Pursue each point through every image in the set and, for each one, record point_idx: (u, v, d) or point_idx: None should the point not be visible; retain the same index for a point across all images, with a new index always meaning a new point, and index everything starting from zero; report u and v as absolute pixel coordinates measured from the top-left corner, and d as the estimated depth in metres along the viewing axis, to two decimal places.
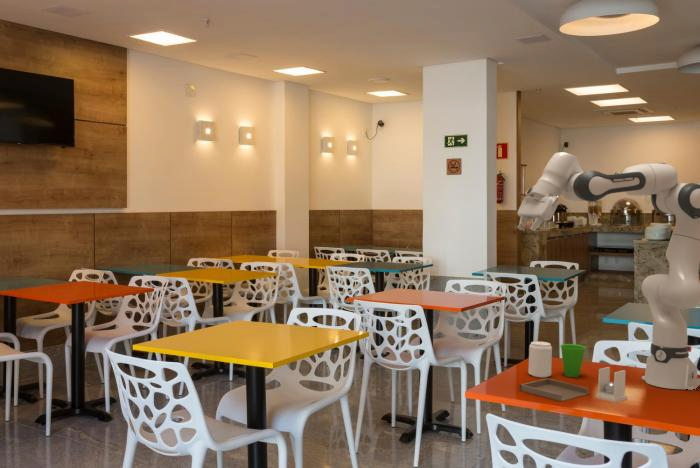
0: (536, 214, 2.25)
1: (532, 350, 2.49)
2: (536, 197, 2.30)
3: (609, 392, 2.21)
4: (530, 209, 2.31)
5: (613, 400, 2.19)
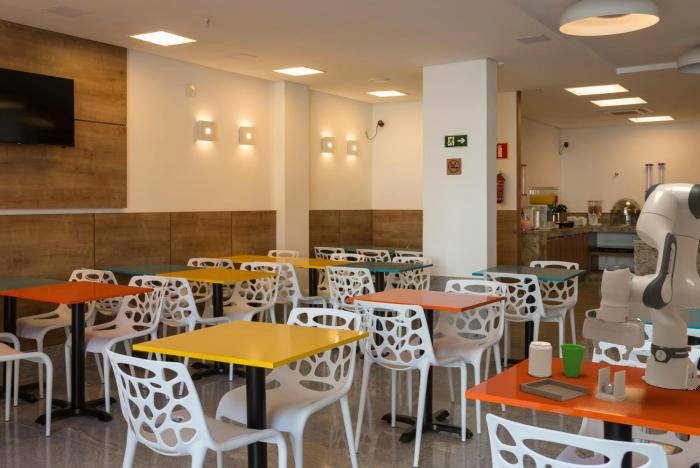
0: (626, 345, 2.17)
1: (532, 350, 2.49)
2: (612, 324, 2.19)
3: (609, 393, 2.21)
4: (608, 336, 2.21)
5: (613, 400, 2.19)
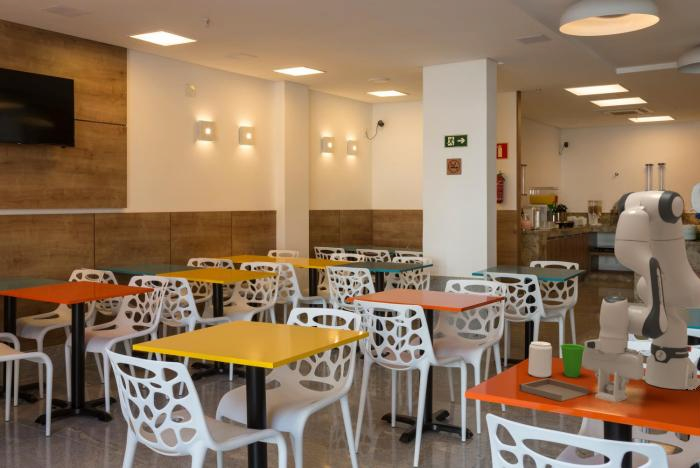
0: (625, 376, 2.17)
1: (532, 350, 2.49)
2: (611, 356, 2.20)
3: (610, 390, 2.22)
4: (607, 367, 2.22)
5: (613, 400, 2.19)
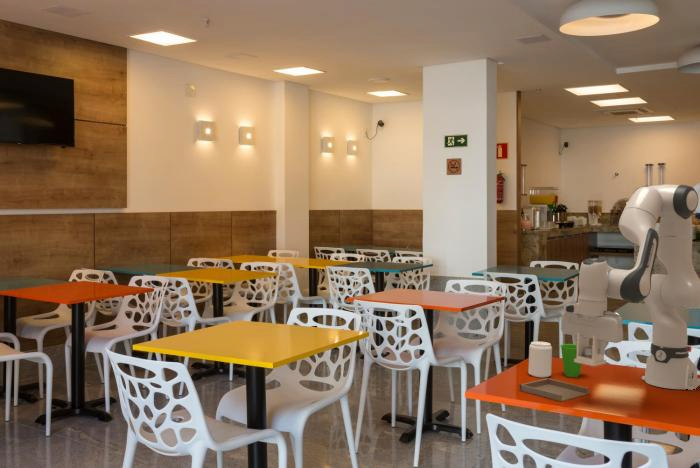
0: (604, 340, 2.12)
1: (532, 350, 2.49)
2: (590, 319, 2.15)
3: (588, 354, 2.17)
4: (586, 331, 2.17)
5: (592, 364, 2.13)
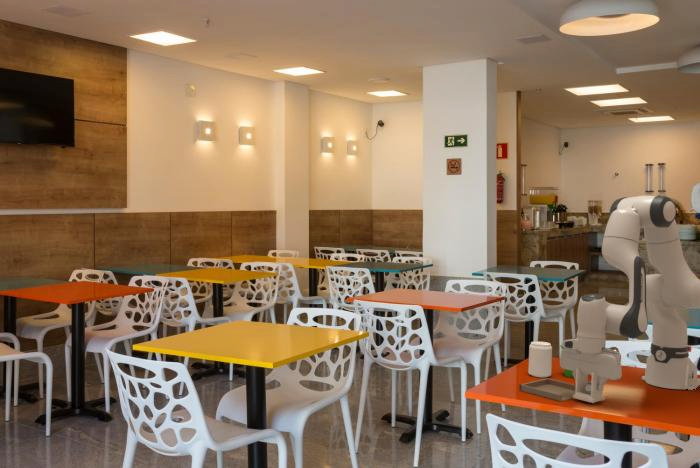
0: (603, 376, 2.12)
1: (532, 350, 2.49)
2: (589, 355, 2.15)
3: (588, 391, 2.17)
4: (585, 367, 2.17)
5: (590, 400, 2.14)
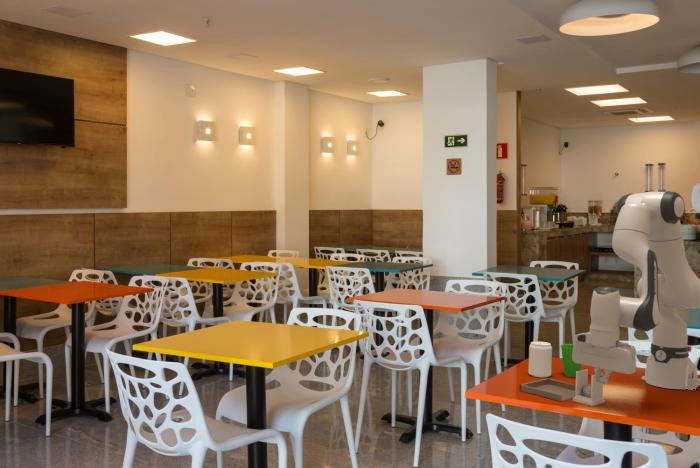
0: (617, 370, 2.09)
1: (532, 350, 2.49)
2: (603, 349, 2.11)
3: (587, 393, 2.17)
4: (598, 361, 2.14)
5: (590, 403, 2.14)
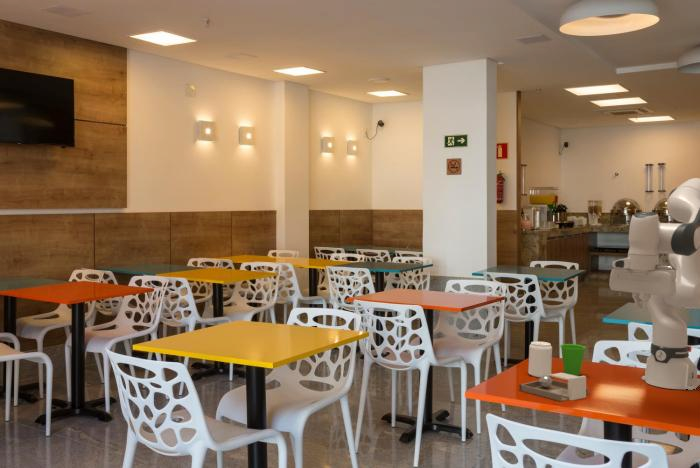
0: (656, 294, 2.07)
1: (532, 350, 2.49)
2: (642, 273, 2.10)
3: (543, 383, 2.31)
4: (637, 286, 2.12)
5: (570, 380, 2.20)
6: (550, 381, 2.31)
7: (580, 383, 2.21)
